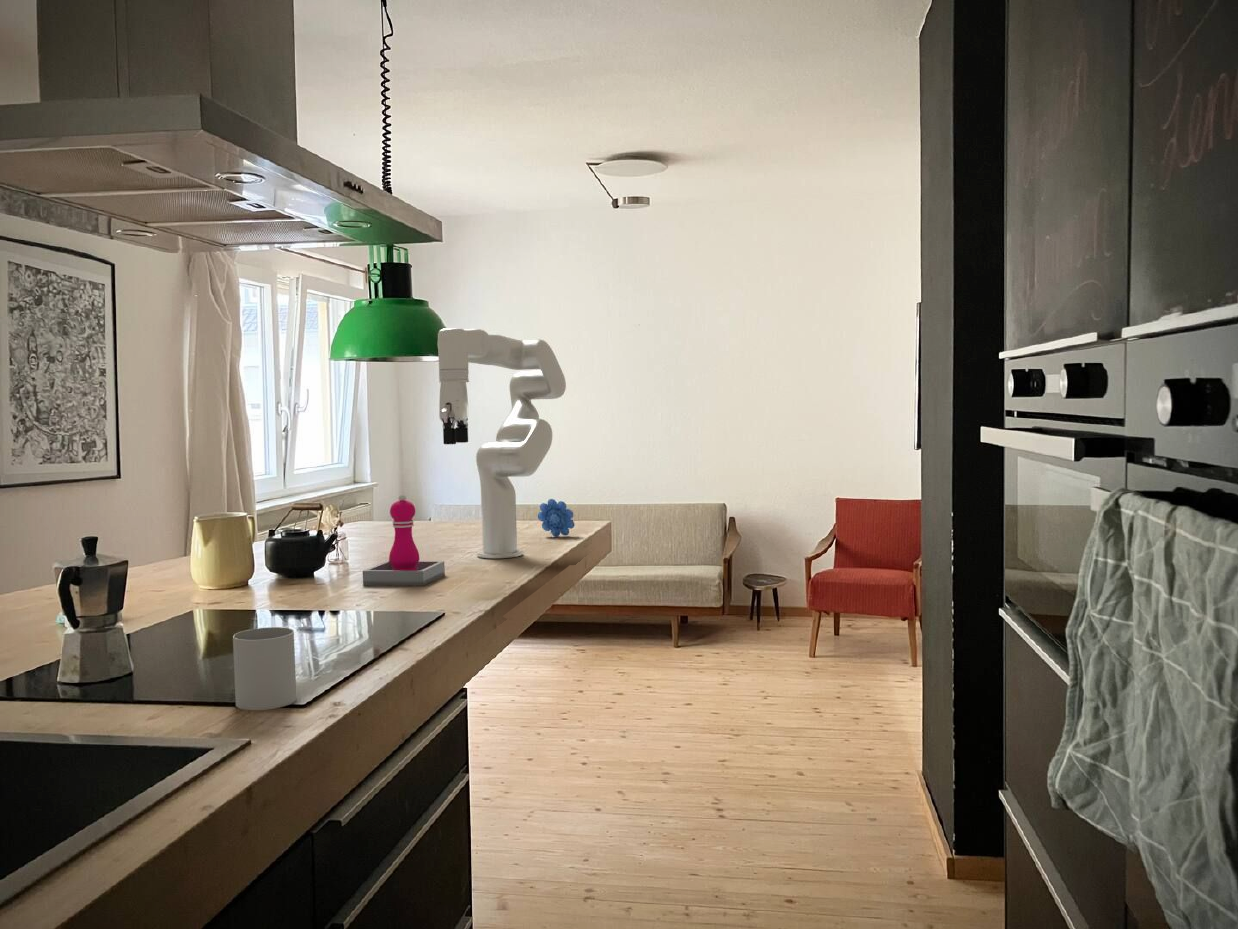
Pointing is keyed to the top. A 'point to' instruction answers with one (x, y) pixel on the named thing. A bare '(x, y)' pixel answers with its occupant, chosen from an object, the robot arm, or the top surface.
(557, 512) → the blue toy flower
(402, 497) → the pepper mill
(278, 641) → the cup
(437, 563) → the tray
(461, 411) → the robot arm
